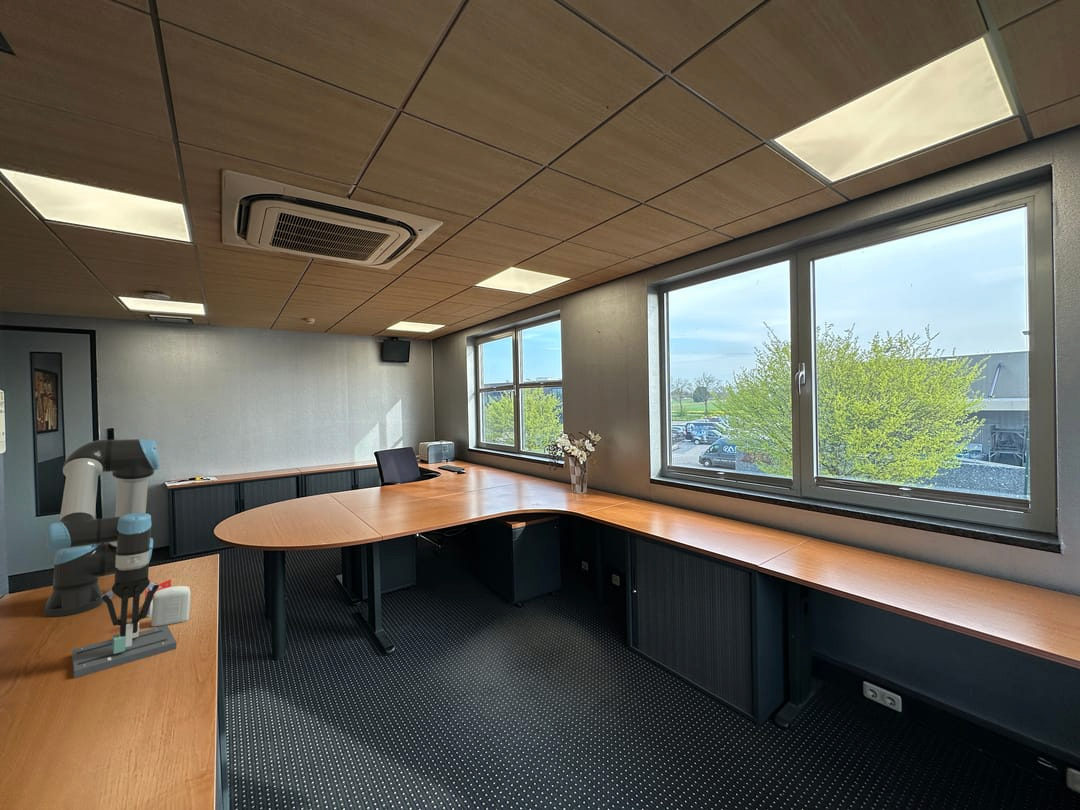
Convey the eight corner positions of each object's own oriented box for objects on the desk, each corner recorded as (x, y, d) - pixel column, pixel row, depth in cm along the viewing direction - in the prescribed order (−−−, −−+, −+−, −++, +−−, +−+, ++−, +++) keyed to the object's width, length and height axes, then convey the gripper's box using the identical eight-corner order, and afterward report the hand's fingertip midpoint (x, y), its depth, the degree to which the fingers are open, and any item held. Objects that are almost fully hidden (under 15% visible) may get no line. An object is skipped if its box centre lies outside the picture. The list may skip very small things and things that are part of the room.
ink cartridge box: (175, 604, 168) (177, 579, 168) (149, 618, 157) (151, 590, 157) (169, 604, 168) (170, 578, 168) (142, 617, 157) (144, 590, 157)
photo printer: (189, 616, 159) (191, 582, 159) (188, 621, 155) (190, 586, 156) (152, 623, 153) (154, 587, 153) (150, 628, 150) (152, 592, 150)
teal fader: (112, 650, 131) (113, 635, 131) (123, 647, 133) (124, 632, 133) (113, 655, 129) (114, 639, 129) (125, 652, 130) (126, 636, 131)
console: (71, 656, 132) (72, 648, 132) (166, 630, 148) (167, 624, 148) (74, 678, 121) (74, 670, 121) (176, 648, 138) (176, 641, 138)
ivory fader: (126, 636, 139) (126, 621, 139) (136, 633, 141) (137, 619, 141) (127, 641, 137) (128, 626, 137) (138, 638, 139) (139, 623, 139)
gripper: (103, 574, 126) (98, 658, 125) (162, 564, 135) (158, 641, 135) (100, 568, 131) (96, 648, 130) (158, 558, 140) (154, 632, 140)
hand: (127, 644), depth 132 cm, fingers closed
